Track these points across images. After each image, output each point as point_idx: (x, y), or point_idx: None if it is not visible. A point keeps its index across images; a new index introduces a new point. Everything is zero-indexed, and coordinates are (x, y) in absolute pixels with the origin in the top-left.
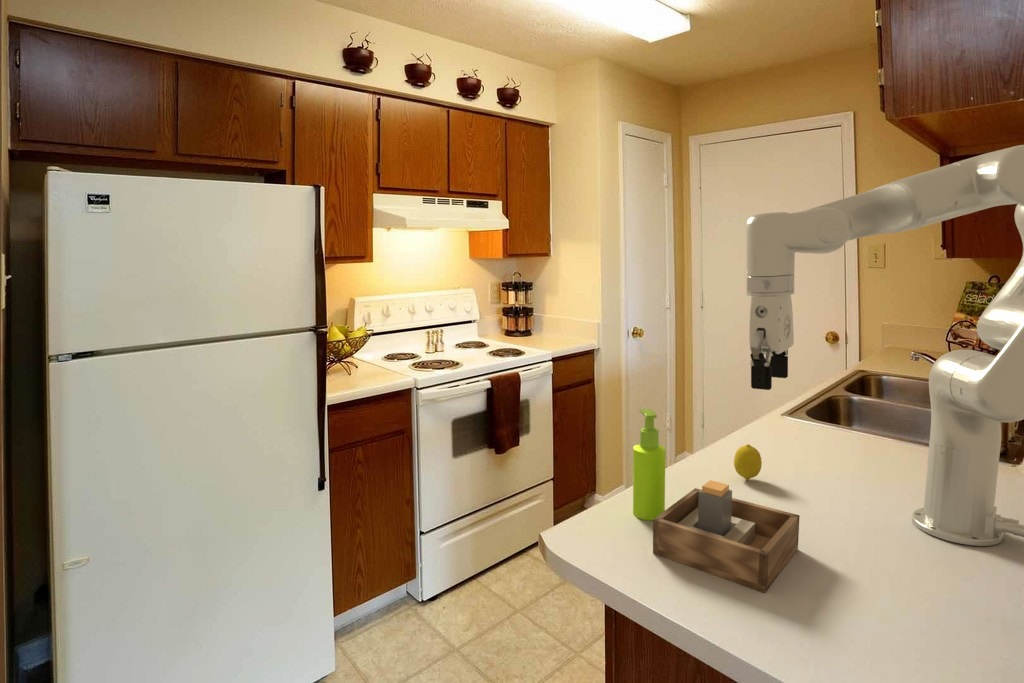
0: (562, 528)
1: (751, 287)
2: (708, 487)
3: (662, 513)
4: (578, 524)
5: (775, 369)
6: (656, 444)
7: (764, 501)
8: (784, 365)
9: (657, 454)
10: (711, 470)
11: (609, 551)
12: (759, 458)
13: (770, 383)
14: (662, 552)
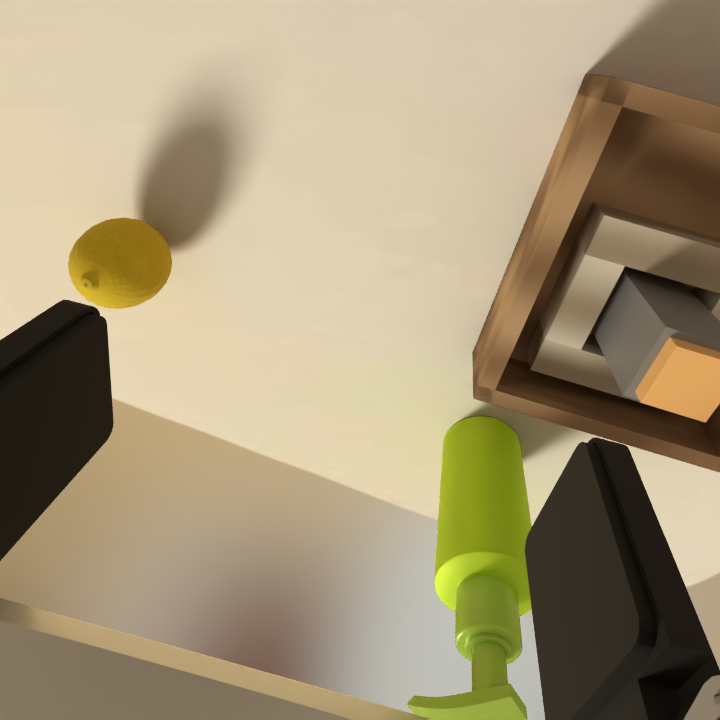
0: None
1: None
2: (714, 404)
3: (684, 459)
4: None
5: (67, 432)
6: (503, 589)
7: (282, 188)
8: (20, 391)
9: None
10: (142, 339)
11: (700, 494)
12: (113, 233)
13: (642, 483)
14: None
